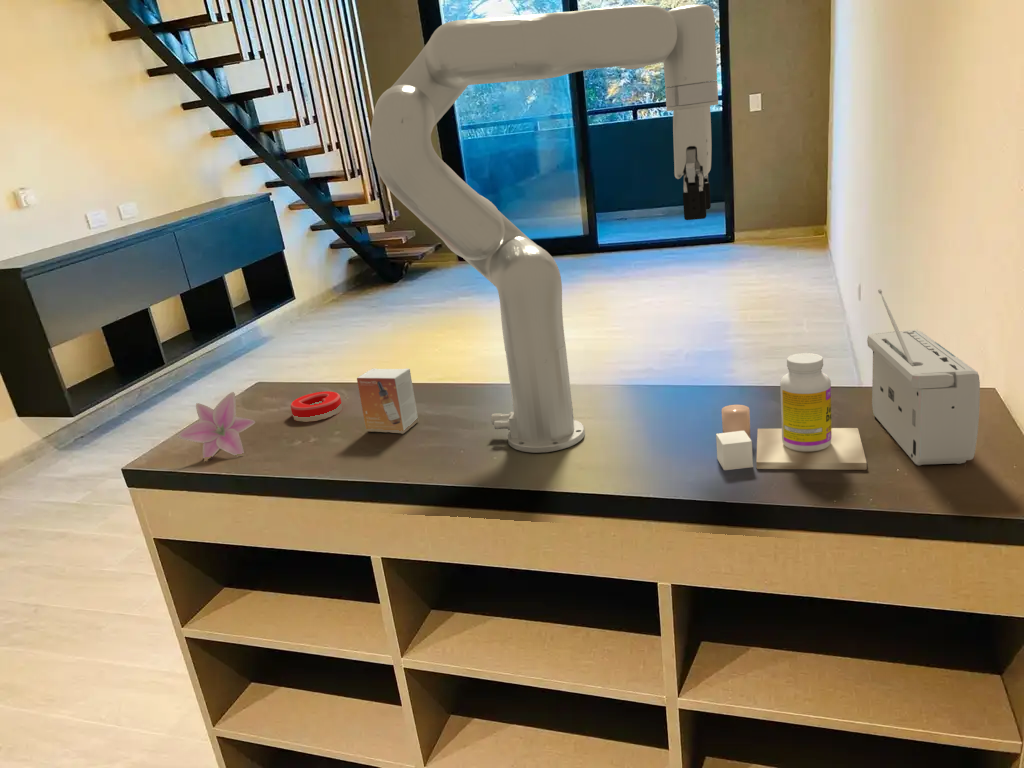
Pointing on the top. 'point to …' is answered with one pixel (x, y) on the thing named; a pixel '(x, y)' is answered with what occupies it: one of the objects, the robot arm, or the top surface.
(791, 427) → the supplement bottle
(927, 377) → the stereo radio cassette player
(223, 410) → the lily
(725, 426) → the peach rounded capsule
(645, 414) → the top surface
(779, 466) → the ash board
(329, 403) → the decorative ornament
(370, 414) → the small box
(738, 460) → the off-white block
